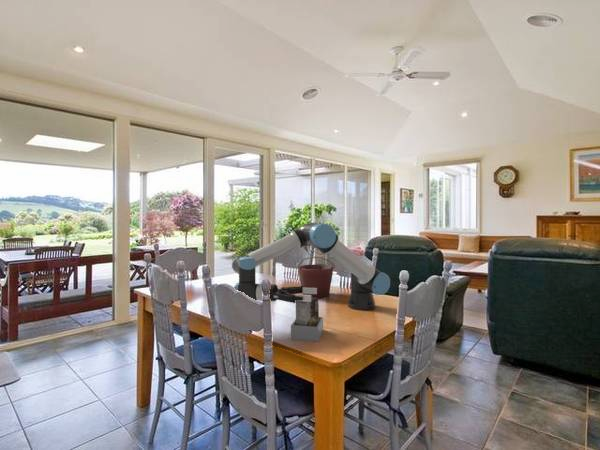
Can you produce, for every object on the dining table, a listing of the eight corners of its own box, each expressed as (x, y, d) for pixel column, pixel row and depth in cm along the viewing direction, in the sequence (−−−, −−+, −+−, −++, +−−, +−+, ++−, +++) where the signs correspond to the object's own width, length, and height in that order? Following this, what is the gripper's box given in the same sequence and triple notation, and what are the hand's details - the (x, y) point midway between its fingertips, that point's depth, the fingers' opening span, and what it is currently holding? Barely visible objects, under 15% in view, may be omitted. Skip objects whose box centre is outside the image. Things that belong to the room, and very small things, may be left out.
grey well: (323, 329, 162) (323, 317, 161) (317, 341, 147) (317, 327, 147) (298, 328, 164) (298, 315, 164) (290, 339, 150) (290, 325, 150)
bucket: (292, 298, 221) (292, 258, 220) (302, 290, 242) (302, 254, 241) (331, 300, 214) (331, 259, 213) (338, 292, 235) (338, 255, 234)
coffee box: (307, 330, 161) (307, 295, 161) (319, 333, 157) (319, 297, 156) (295, 335, 154) (294, 299, 153) (306, 339, 150) (306, 301, 149)
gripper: (275, 294, 171) (318, 296, 166) (258, 308, 147) (308, 311, 142) (275, 278, 171) (318, 280, 166) (258, 290, 146) (308, 292, 142)
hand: (314, 294), depth 154 cm, fingers open, 13 cm apart
